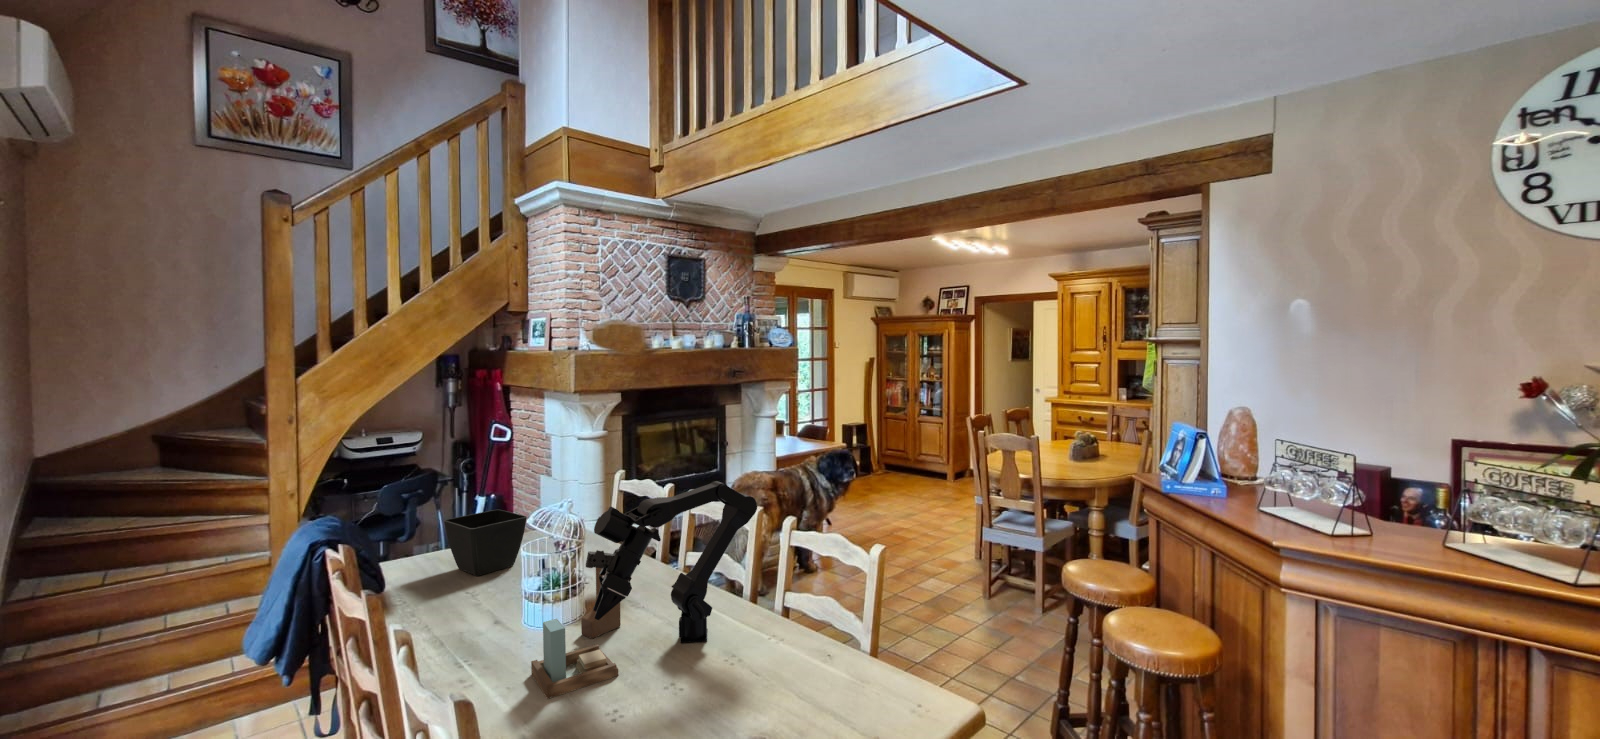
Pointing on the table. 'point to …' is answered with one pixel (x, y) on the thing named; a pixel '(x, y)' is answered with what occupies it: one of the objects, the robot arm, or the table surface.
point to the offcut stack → (591, 661)
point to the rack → (575, 681)
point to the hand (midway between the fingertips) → (595, 615)
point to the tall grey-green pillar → (554, 650)
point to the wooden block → (606, 623)
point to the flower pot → (485, 540)
